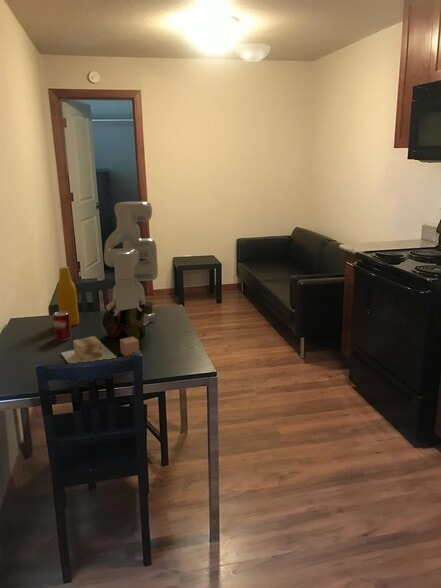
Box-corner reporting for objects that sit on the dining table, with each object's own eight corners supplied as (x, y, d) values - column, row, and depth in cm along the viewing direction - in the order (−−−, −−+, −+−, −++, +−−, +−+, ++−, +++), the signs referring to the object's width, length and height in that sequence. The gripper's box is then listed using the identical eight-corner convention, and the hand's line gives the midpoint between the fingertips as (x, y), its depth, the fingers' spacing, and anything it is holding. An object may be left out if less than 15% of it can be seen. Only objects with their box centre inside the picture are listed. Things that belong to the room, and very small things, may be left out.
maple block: (95, 349, 205) (94, 336, 203) (102, 356, 198) (101, 342, 196) (74, 353, 200) (73, 340, 199) (80, 360, 193) (79, 347, 191)
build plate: (102, 345, 211) (102, 343, 211) (116, 358, 196) (116, 357, 196) (61, 354, 202) (61, 352, 202) (73, 369, 187) (72, 367, 187)
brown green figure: (118, 339, 231) (165, 328, 225) (105, 350, 216) (154, 338, 210) (105, 303, 228) (153, 290, 222) (91, 311, 213) (141, 298, 207)
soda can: (67, 341, 216) (64, 316, 213) (52, 340, 218) (49, 315, 215) (74, 335, 223) (72, 311, 220) (60, 334, 225) (57, 310, 221)
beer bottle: (56, 324, 239) (49, 268, 231) (70, 319, 246) (65, 264, 238) (69, 327, 234) (62, 270, 226) (83, 322, 242) (77, 266, 234)
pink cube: (134, 349, 206) (133, 336, 205) (139, 353, 202) (138, 340, 200) (120, 352, 203) (119, 339, 202) (126, 357, 198) (125, 343, 197)
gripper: (141, 277, 201) (143, 316, 206) (101, 283, 192) (104, 323, 197) (148, 280, 195) (150, 320, 200) (107, 286, 186) (110, 328, 191)
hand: (127, 322), depth 198 cm, fingers open, 9 cm apart
